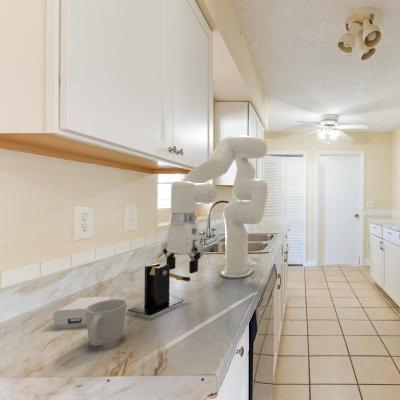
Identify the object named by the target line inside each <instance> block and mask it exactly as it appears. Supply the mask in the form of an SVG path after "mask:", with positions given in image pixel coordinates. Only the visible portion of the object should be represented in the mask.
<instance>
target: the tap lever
mask: <svg viewBox="0 0 400 400" xmlns="http://www.w3.org/2000/svg"><path fill="white" fill-rule="evenodd" d="M155 268H156V267H155V266H152V269H151V271H150V275H154V276H155ZM170 278H172V279H175V280H178V281H184V282H190V281H191V277H190V276H184V275H179V274H176V273H173V272H172V273H171V272H170Z"/></svg>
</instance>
